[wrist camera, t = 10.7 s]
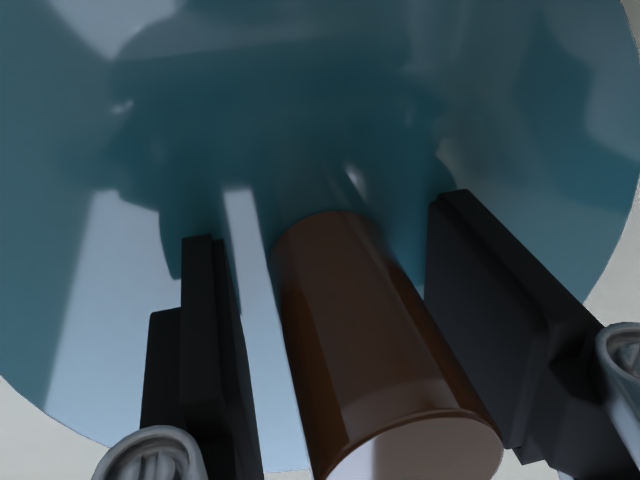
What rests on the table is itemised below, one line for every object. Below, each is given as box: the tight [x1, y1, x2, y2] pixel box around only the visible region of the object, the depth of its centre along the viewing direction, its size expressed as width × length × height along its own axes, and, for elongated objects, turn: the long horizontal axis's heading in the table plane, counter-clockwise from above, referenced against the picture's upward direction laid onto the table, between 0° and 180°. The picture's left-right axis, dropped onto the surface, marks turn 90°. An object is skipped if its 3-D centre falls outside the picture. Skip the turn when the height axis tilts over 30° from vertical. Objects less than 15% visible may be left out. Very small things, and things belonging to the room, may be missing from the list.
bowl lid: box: [0, 0, 640, 480], centre depth 9 cm, size 14×14×6 cm
